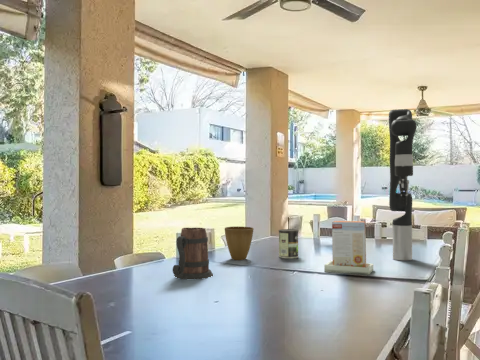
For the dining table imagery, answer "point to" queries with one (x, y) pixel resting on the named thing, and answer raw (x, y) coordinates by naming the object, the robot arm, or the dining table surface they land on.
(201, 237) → the tankard
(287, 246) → the coffee can
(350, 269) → the tray
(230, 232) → the plant pot
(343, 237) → the cracker box
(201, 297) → the dining table surface
